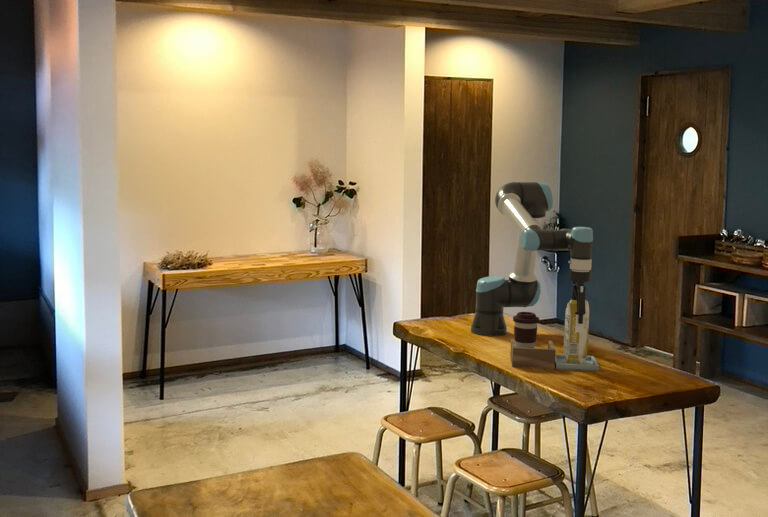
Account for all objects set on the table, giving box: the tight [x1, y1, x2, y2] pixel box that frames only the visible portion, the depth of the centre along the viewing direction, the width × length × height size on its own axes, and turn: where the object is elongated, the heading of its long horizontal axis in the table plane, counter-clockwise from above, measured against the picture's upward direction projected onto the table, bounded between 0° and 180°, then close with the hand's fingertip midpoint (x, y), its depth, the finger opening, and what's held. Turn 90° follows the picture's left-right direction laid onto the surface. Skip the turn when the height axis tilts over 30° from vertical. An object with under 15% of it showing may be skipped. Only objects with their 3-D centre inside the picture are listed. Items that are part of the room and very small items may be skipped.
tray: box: [555, 353, 600, 372], centre depth 313 cm, size 14×15×2 cm
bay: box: [509, 338, 557, 370], centre depth 315 cm, size 14×15×7 cm
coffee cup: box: [512, 311, 540, 348], centre depth 331 cm, size 10×10×15 cm
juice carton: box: [562, 299, 590, 364], centre depth 312 cm, size 9×8×24 cm
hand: (576, 328), depth 312 cm, fingers open, 13 cm apart
